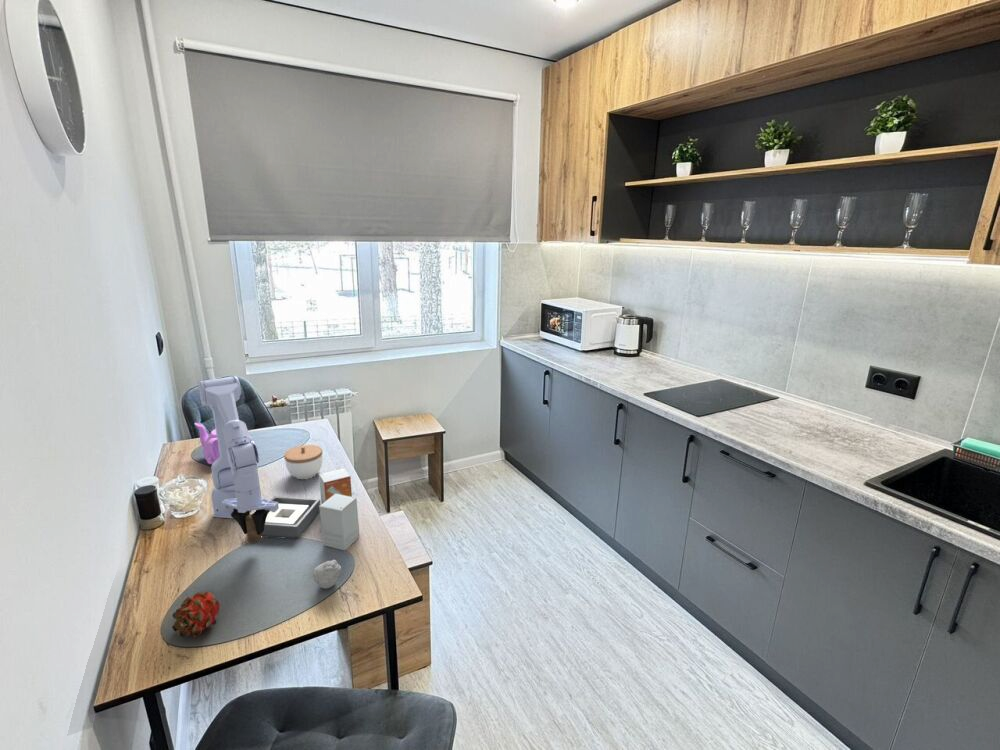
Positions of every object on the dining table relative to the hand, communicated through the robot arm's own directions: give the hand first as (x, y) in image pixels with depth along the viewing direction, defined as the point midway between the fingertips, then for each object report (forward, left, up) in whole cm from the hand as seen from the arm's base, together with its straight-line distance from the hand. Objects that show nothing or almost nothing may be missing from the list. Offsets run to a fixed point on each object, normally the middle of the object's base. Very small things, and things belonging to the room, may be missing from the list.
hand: (254, 532), depth 129 cm
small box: (+14, +21, -6) cm, 26 cm away
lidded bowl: (-7, +43, -6) cm, 44 cm away
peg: (0, 0, -2) cm, 2 cm away
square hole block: (+1, +14, -6) cm, 15 cm away
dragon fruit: (+2, -26, -6) cm, 27 cm away
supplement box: (+21, +7, -6) cm, 23 cm away
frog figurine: (+25, -11, -6) cm, 28 cm away
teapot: (-44, +53, -6) cm, 69 cm away
